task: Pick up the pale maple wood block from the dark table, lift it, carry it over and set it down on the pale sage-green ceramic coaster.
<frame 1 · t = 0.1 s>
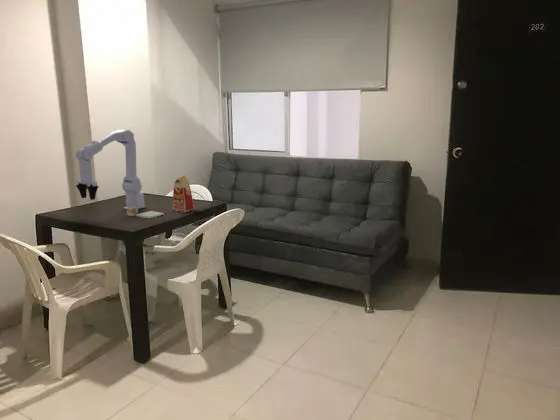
hand: (88, 198, 238), 10 cm above the table, tool pointing down, fingers open, 7 cm apart
milk carton: (183, 210, 258), on the table
coaster: (150, 215, 245), on the table
maple block: (132, 215, 247), on the table
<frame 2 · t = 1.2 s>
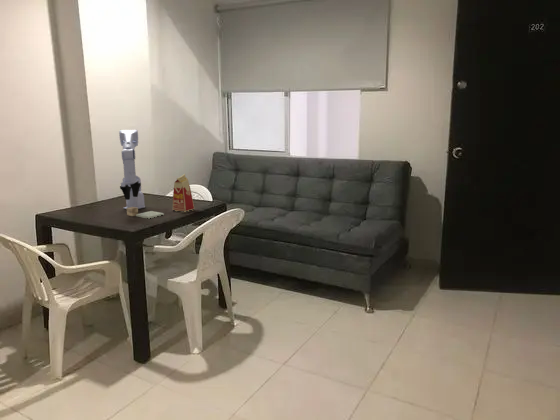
hand: (131, 198, 245), 9 cm above the table, tool pointing down, fingers open, 7 cm apart
nothing on the table moved.
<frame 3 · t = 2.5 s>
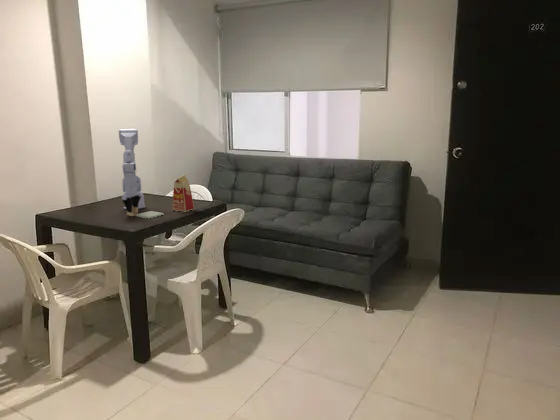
hand: (132, 210, 247), 2 cm above the table, tool pointing down, fingers closed on maple block, 5 cm apart
maple block: (132, 215, 247), on the table, touching gripper
everything else where it was.
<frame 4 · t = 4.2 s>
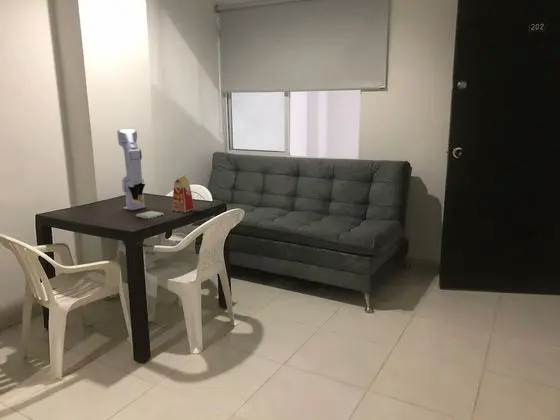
hand: (137, 198, 244), 9 cm above the table, tool pointing down, fingers closed on maple block, 5 cm apart
maple block: (137, 202, 245), point 7 cm above the table, touching gripper
everything else where it was.
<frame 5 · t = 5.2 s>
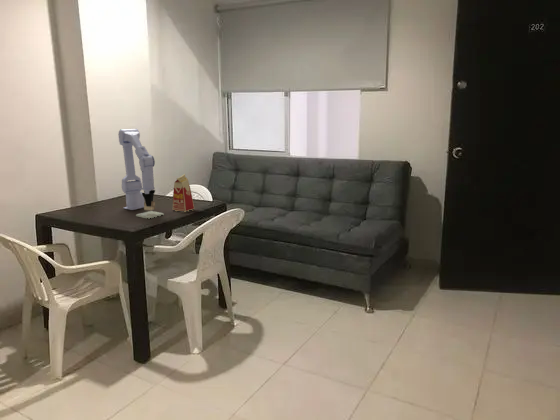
hand: (149, 205, 244), 6 cm above the table, tool pointing down, fingers closed on maple block, 5 cm apart
maple block: (149, 209, 245), point 3 cm above the table, touching gripper
everything else where it was.
when the fingers open (4 cm above the table, at t = 6.1 s): maple block stays where it is, resting on coaster.
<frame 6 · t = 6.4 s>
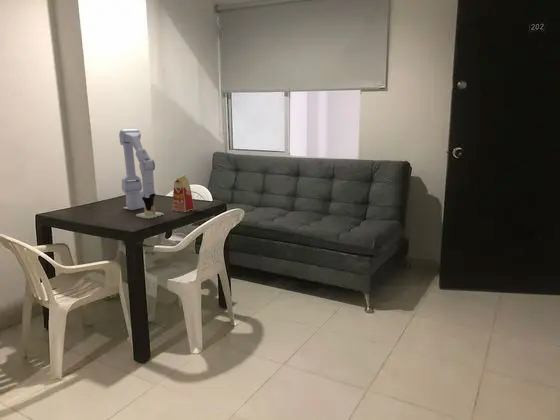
hand: (149, 208, 245), 4 cm above the table, tool pointing down, fingers open, 7 cm apart
maple block: (150, 213, 245), point 1 cm above the table, touching coaster
everything else where it was.
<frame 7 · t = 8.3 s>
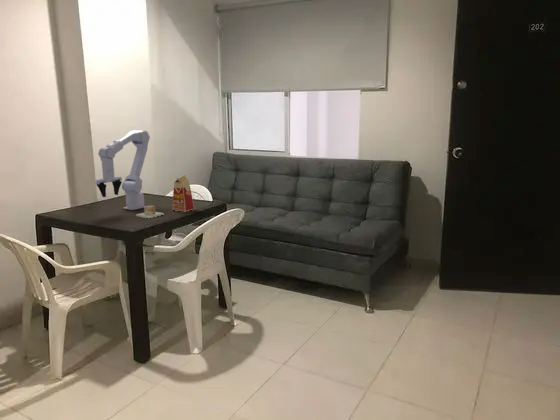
hand: (110, 195, 247), 10 cm above the table, tool pointing down, fingers open, 7 cm apart
nothing on the table moved.
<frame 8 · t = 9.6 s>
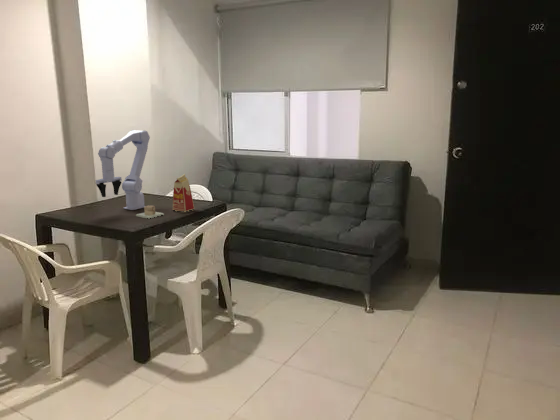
hand: (110, 195, 247), 10 cm above the table, tool pointing down, fingers open, 7 cm apart
nothing on the table moved.
at the end: maple block inside the target area on the coaster (0.0 cm from its centre), point 1.0 cm above the coaster's base; maple block tilted 0°; the gripper is holding nothing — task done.
